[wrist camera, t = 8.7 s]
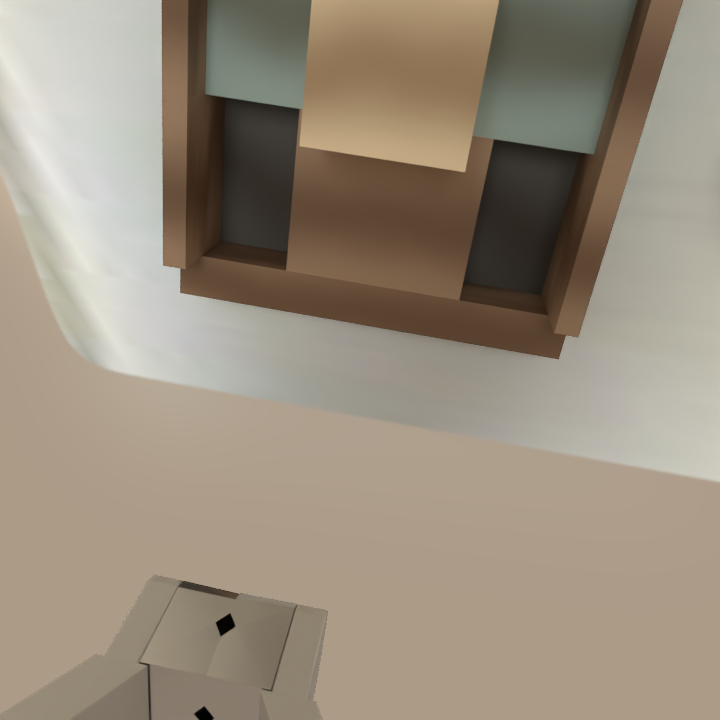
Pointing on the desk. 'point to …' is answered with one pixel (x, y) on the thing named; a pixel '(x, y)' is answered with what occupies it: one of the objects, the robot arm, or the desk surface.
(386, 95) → the maple block
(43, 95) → the desk surface
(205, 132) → the box
